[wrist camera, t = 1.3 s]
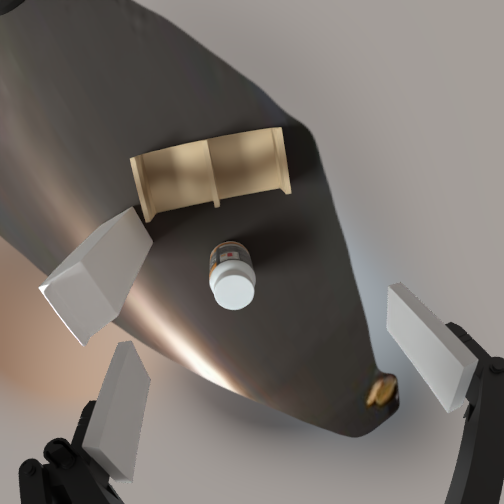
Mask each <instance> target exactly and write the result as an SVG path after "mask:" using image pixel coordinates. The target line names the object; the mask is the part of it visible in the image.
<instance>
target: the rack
mask: <svg viewBox="0 0 504 504" xmlns="http://www.w3.org/2000/svg"><path fill="white" fill-rule="evenodd" d="M130 161H131V166H132V170H133V174H134V178H135V183H136V187H137V191H138V195H139V199H140V203H141V207H142V210H143V214H144V218H145V222H146V223H147V222H151V220H152V219H153V217H154V216H155V214H156V213H159V212H163V211H168V210H172V209H177V208H181V207H186V206H190V205H195V204H200V203H205V202H209V201H214V205H215V208H216V207H220V199H224V198H229V197H235V196H240V195H245V194H250V193H256V192H261V191H267V190H272V189H278V188H281V189H282V190H283V191H284V192H285V193H286V194H291V187H290V180H289V173H288V167H287V160H286V153H285V147H284V140H283V134H282V128H281V127H273V128H267V129H260V130H254V131H248V132H242V133H236V134H231V135H225V136H220V137H215V138H210V139H205V140H200V141H196V142H191V143H187V144H182V145H178V146H173V147H169V148H165V149H161V150H157V151H153V152H149V153H145V154H142V155H138V156H136V157H133V158H130Z"/></svg>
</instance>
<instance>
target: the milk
mask: <svg viewBox="0 0 504 504" xmlns="http://www.w3.org/2000/svg"><path fill="white" fill-rule="evenodd" d="M152 244H153V241H152V239H151V237H150V236H149V234H148V232H147V230H146V229H145V227H144V225H143V224H142V222H141V220H140V218H139V217H138V215H137V213H136V211H135V210H134V208H133V207H130V208H129V209H127V210H125V211H124V212H122V213H120V214H119V215H117V216H115V217H113V218H112V219H110V220H108V221H107V222H105V223H104V224H102V225H100V226H99V227H98V228H97V229H96V230H95V231H94V232H93V233H92V234H91V235H89V236H88V237H87V238H86V239H85V240H84V241H83V242H82V243H81V244H80V245H79V246H78V247H77V248H76V249H75V250H74V251H73V252H72V253H71V254H70V255H69V256H68V257H67V258H66V259H65V260H64V261H63V262H62V263H61V264H60V265H59V266H58V267H57V268H56V269H55V270H54V271H53V272H52V273H51V274H50V276H49V277H48V278H47V279H46V280H45V281H44V282H43V283H42V284H41V285H40V286H39V289H40V290H41V292H42V293H43V295H44V296H45V298H46V299H47V300H48V302H49V303H50V305H51V306H52V307H53V309H54V310H55V312H56V313H57V314H58V316H59V317H60V318H61V320H62V321H63V322H64V324H65V325H66V326H67V327H68V329H69V330H70V331H71V333H72V334H73V335H74V336H75V337H76V339H77V340H78V341H79V342H80V344H81V345H82V346H85V345H86V344H87V343H88V340H89V339H90V337H91V336H92V335H94V334H95V333H96V332H98V331H99V330H100V329H102V328H103V327H104V326H105V325H107V324H108V323H109V322H111V321H112V320H114V319H115V318H116V317H117V316H118V315H119V313H120V310H121V308H122V306H123V304H124V302H125V300H126V297H127V295H128V293H129V291H130V289H131V287H132V285H133V282H134V280H135V278H136V276H137V274H138V272H139V270H140V268H141V266H142V264H143V262H144V260H145V258H146V256H147V254H148V252H149V250H150V248H151V246H152Z"/></svg>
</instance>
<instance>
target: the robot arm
mask: <svg viewBox="0 0 504 504" xmlns="http://www.w3.org/2000/svg"><path fill="white" fill-rule="evenodd" d="M23 1H24V0H0V15H3V14H5V13H7V12H9V11H11V10H12V9H14V8H15V7H17V6H18V5H19V4H20V3H22V2H23ZM386 329H387V330H388V332H389V333H390V334H391V335H392V337H393V338H394V340H395V341H396V342H397V343H398V345H399V346H400V347H401V349H402V350H403V352H404V353H405V354H406V356H407V357H408V358H409V360H410V361H411V362H412V363H413V365H414V366H415V368H416V369H417V370H418V372H419V373H420V375H421V376H422V377H423V379H424V380H425V381H426V383H427V384H428V386H429V387H430V388H431V390H432V391H433V393H434V394H435V396H436V397H437V398H438V400H439V401H440V403H441V404H442V406H443V407H444V408H445V410H446V411H447V413H449V412H451V411H453V410H455V409H457V408H459V407H461V406H462V404H463V402H464V399H465V397H466V398H467V400H468V401H469V402H470V403H469V405H468V407H467V410H466V412H465V414H464V417H463V418H465V417H466V420H465V426H464V431H463V437H462V441H461V446H460V450H459V455H458V459H457V463H456V467H455V471H454V474H453V478H452V481H451V485H450V488H449V491H448V494H447V497H446V501H445V504H499V500H500V495H501V491H502V486H503V480H504V359H503V358H501V357H491V356H490V355H489V354H488V353H487V352H486V351H485V350H484V349H483V348H482V347H481V346H480V345H479V344H478V343H477V342H476V341H475V340H474V339H472V337H471V336H470V335H469V334H467V332H466V331H465V330H464V329H462V327H460V326H459V325H457V324H454V323H452V322H450V323H448V324H444V323H443V322H442V321H440V319H438V318H437V316H436V315H435V314H433V312H432V311H430V310H429V309H428V308H427V307H426V306H425V305H424V304H423V303H422V302H421V301H420V300H419V299H418V298H417V297H416V296H415V295H414V294H413V293H412V292H411V291H410V290H408V288H406V287H405V286H404V285H403V284H402V283H401V282H400V283H396V284H393V285H390V286H388V310H387V328H386ZM150 381H151V379H150V377H149V376H148V374H147V371H146V370H145V368H144V365H143V364H142V361H141V359H140V357H139V355H138V353H137V351H136V349H135V347H134V345H133V343H132V341H126V342H119V343H118V345H117V347H116V350H115V353H114V355H113V358H112V360H111V363H110V366H109V368H108V371H107V374H106V376H105V379H104V382H103V384H102V388H101V390H100V393H99V396H98V398H97V401H89V403H88V404H87V405H86V406H85V407H84V409H83V411H82V414H81V417H80V418H81V419H79V422H78V426H77V428H76V431H75V434H74V437H73V440H72V443H71V445H70V443H69V442H68V441H67V440H66V439H64V438H56V439H53V440H51V441H50V442H49V443H47V445H46V446H45V448H44V452H43V453H44V458H45V459H46V460H47V461H48V462H49V464H44V465H42V464H41V463H39V461H38V460H36V459H28V460H26V461H24V462H23V463H22V464H21V466H20V468H19V487H20V498H21V504H124V503H123V501H122V500H121V498H120V497H119V496H118V494H117V493H116V491H115V490H114V489H113V487H112V486H111V485H110V484H109V483H108V481H109V477H111V478H113V479H114V480H115V481H116V482H124V483H132V481H133V474H134V467H135V461H136V455H137V449H138V443H139V437H140V432H141V426H142V421H143V415H144V410H145V405H146V400H147V395H148V390H149V386H150Z"/></svg>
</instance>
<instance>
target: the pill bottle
mask: <svg viewBox="0 0 504 504" xmlns="http://www.w3.org/2000/svg"><path fill="white" fill-rule="evenodd" d="M255 281H256V278H255V273H254V269H253V265H252V261H251V258H250V255H249V252H248V251H247V249H246V248H245V247H244V246H243V245H242V244H240V243H237V242H234V241H227V242H223V243H221V244H219V245H218V246H216V247H215V249H214V250H213V251H212V253H211V256H210V287H211V289H212V291H213V293H214V296H215V299H216V301H217V302H218V303H219V304H220V305H221V306H222V307H224V308H226V309H230V310H237V309H241V308H244V307H245V306H247V305H248V304H249V303H250V302H251V301H252V299H253V297H254V286H255Z"/></svg>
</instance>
